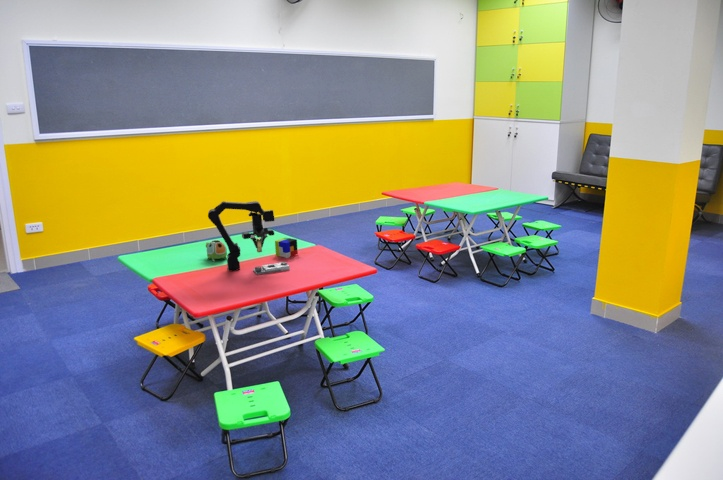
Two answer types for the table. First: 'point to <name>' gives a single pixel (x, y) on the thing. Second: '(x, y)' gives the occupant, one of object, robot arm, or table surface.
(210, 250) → the turtle holder
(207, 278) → the table surface
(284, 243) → the puzzle toy
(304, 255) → the table surface
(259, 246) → the brass pin
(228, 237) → the robot arm
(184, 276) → the table surface
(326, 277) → the table surface
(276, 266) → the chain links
